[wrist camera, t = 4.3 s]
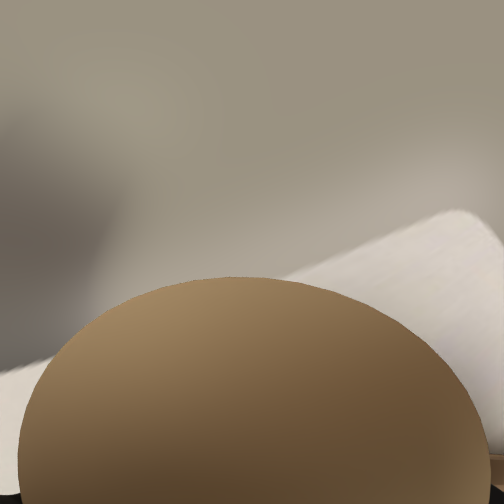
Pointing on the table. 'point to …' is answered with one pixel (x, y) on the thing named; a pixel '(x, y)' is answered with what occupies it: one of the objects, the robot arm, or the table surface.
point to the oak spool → (250, 405)
